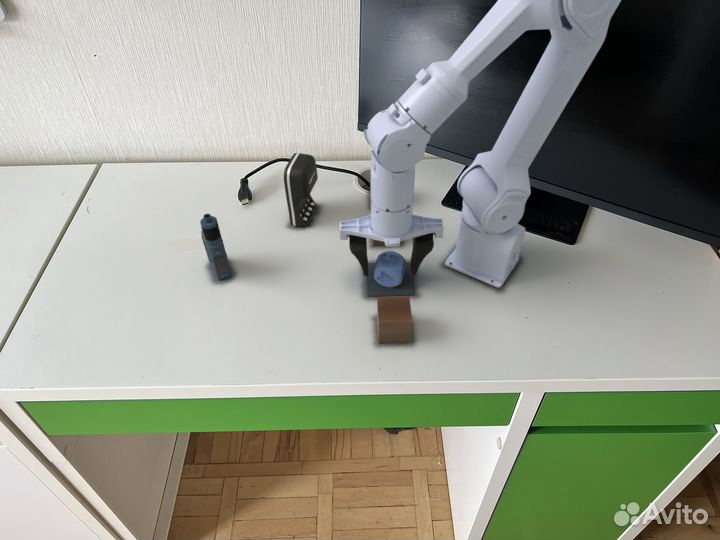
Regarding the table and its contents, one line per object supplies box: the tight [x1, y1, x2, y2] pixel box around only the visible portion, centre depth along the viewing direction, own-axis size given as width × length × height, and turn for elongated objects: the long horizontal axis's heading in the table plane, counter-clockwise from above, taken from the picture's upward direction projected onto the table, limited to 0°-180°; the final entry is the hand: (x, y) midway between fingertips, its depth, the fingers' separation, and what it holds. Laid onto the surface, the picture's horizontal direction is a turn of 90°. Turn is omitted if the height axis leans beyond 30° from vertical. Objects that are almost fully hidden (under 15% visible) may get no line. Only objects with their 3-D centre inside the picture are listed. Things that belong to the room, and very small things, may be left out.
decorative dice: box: [374, 250, 406, 287], centre depth 81 cm, size 4×4×4 cm
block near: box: [376, 296, 413, 344], centre depth 73 cm, size 4×4×4 cm
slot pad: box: [366, 261, 415, 298], centre depth 82 cm, size 7×7×1 cm
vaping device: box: [199, 213, 233, 281], centre depth 80 cm, size 3×5×12 cm, turn 28°
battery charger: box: [283, 152, 319, 227], centre depth 89 cm, size 7×4×11 cm, turn 166°
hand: (389, 270), depth 81 cm, fingers open, 7 cm apart
